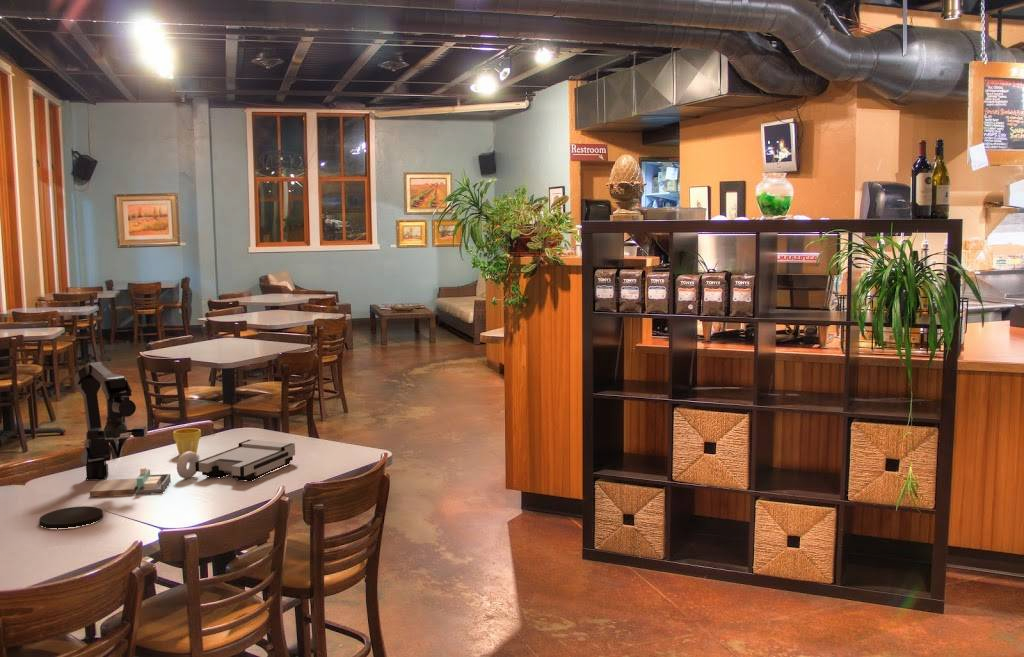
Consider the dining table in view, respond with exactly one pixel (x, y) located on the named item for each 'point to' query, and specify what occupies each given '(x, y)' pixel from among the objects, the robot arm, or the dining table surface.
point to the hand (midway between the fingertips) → (118, 457)
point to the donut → (182, 464)
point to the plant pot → (187, 439)
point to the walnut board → (115, 487)
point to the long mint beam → (143, 477)
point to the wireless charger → (71, 517)
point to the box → (161, 488)
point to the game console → (248, 460)
